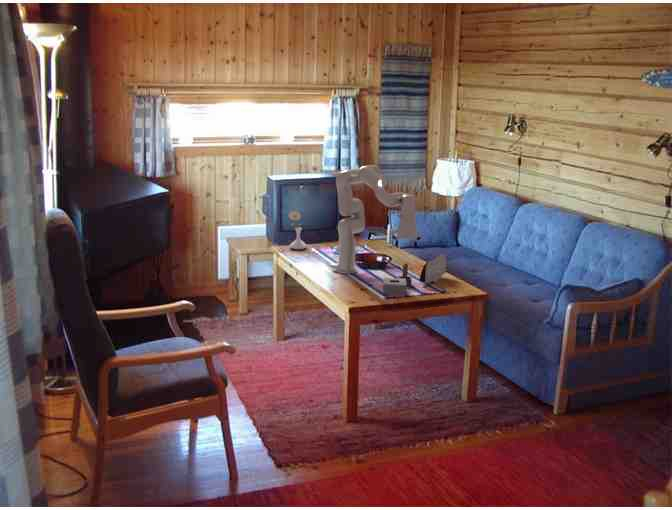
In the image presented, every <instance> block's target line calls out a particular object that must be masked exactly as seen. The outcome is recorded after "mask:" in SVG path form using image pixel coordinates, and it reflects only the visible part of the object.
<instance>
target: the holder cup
mask: <svg viewBox="0 0 672 510" xmlns="http://www.w3.org/2000/svg"><path fill="white" fill-rule="evenodd" d="M397 278H402V275H398V277H397ZM412 282H413V280H412V276H409V275H407V279H406V287H411V288H412Z"/></svg>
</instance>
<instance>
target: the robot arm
mask: <svg viewBox="0 0 672 510" xmlns="http://www.w3.org/2000/svg"><path fill="white" fill-rule="evenodd" d="M381 175H382V170H381V168H380V167H379V166H378V165H375V164H370V165H363V166H361V167H360V168H352V169H351V168H349V169H346V170H341V171H340V172H339V173H338V174H337V175H336V179H335V185H336V186H335V187H336V190H337V199H338V200H337V202H338V211H339V214H340V215H341V216H343V217H346V218H343V219H341V220H339V222H338V224H337V231H338V237H339V238H338V263H331V264H330V267H331V268H333V269H335V271H336V272H337V273H339V274H347V275H348V274H351V273H352V274H356V273H357V272H358V269H357V268H356V267H355V266H356V239H355V236H354V235H355V234H358V233H362V232H363V231H364V230H365V227H366V219H365V207H364V203H363V201H362V200H361V199H360V198H357V197H356V198H355V197H353V190H352V187H351V185H356V184H358V185H359V184H363V183H364V184H365V185H367V186H368V187H369V188H370V189H372V190H373V191H374V194H375V197H376V198H377V200H378V201H379V202H381V204H383V205H384V206H386V207H388V208H395V207H399V206H400V214H398V216H397V217H398V218H399V219H398V224H397V228H396V229H395V230H393V231H391V232H390V235H391V236H392V239H393V240H394V241H395V243H394V246H395V247H396V249H398V248H399V239H409V240H414V242H413V249H414V250H416V248H417V247H418V242H419V240H421V239H422V237H423V236H424V235H423V233H422V232H420V231H419V230H417V220H416V218H415V217H416V196H415V195H414V194H411V193H405V192H402V191H398V192H391V193H390V192H389V191H388V190H386V189H385V186H386V185H385V184H386V178H384V176H381ZM348 216H351V217H348ZM395 234H396V236H395ZM417 235H418V236H417ZM355 272H356V273H355ZM352 274H351V275H352Z"/></svg>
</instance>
